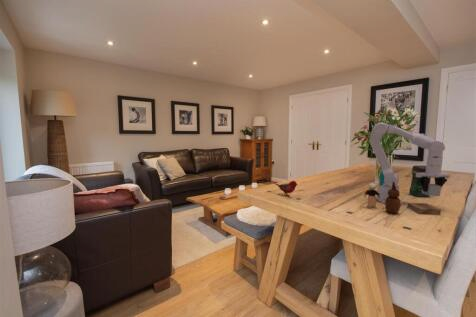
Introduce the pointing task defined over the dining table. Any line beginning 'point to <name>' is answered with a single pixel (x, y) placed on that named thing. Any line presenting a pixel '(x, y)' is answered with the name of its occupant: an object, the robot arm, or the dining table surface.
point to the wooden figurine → (393, 200)
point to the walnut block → (424, 208)
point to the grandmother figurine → (372, 196)
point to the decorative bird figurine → (287, 187)
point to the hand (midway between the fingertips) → (430, 191)
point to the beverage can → (381, 178)
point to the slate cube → (433, 190)
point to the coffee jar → (417, 182)
